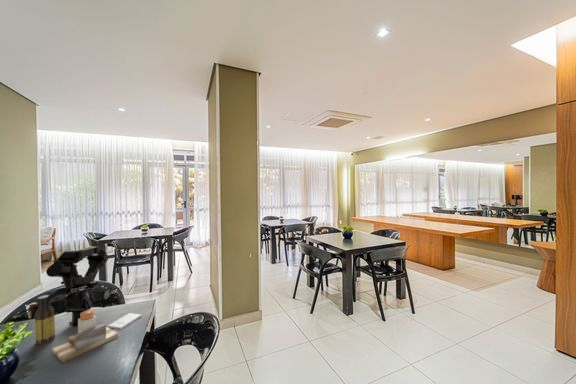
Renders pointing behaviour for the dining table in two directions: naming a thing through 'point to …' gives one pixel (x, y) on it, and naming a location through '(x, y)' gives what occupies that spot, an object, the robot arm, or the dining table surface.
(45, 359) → the dining table surface
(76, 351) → the mount
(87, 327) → the white tall block
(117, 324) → the external hard drive
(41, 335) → the sauce bottle
